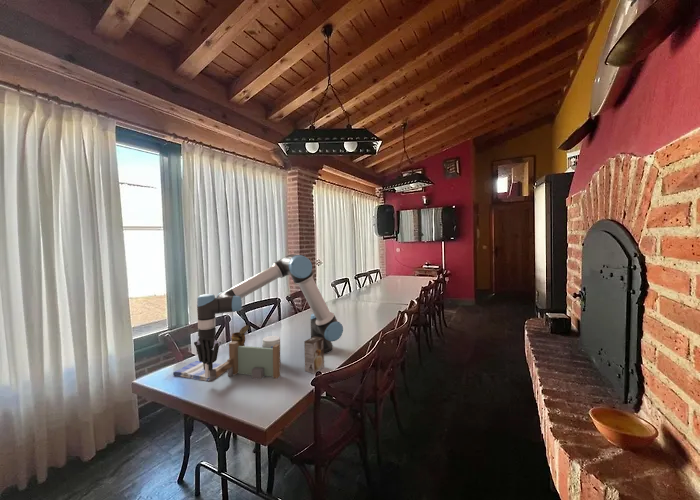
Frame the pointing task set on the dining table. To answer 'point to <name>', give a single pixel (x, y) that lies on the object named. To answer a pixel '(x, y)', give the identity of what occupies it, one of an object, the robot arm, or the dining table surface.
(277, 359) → the door set
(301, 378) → the dining table surface
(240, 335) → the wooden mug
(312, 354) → the coffee box
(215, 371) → the walnut bar
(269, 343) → the supplement tub
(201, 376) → the dish towel
